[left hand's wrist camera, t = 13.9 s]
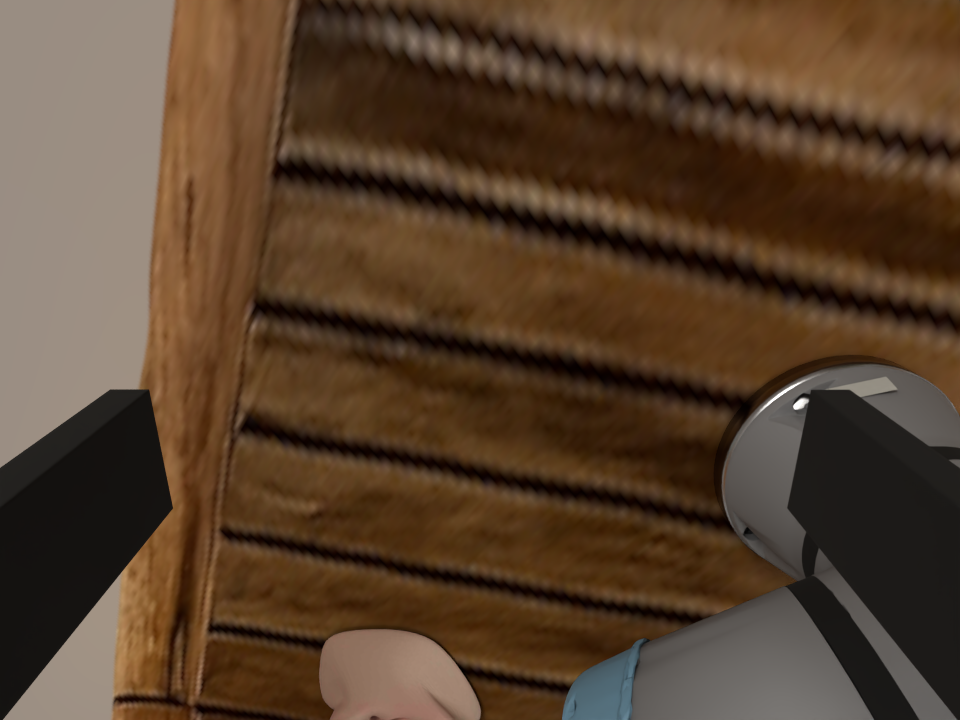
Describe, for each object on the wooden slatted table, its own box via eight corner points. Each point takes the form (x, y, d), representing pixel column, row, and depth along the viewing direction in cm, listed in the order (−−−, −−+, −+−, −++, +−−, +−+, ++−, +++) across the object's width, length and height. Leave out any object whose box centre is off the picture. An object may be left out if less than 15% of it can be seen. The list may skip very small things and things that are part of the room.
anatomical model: (279, 687, 44) (435, 649, 42) (295, 642, 47) (439, 606, 46) (349, 810, 48) (492, 779, 47) (358, 761, 52) (491, 730, 51)
